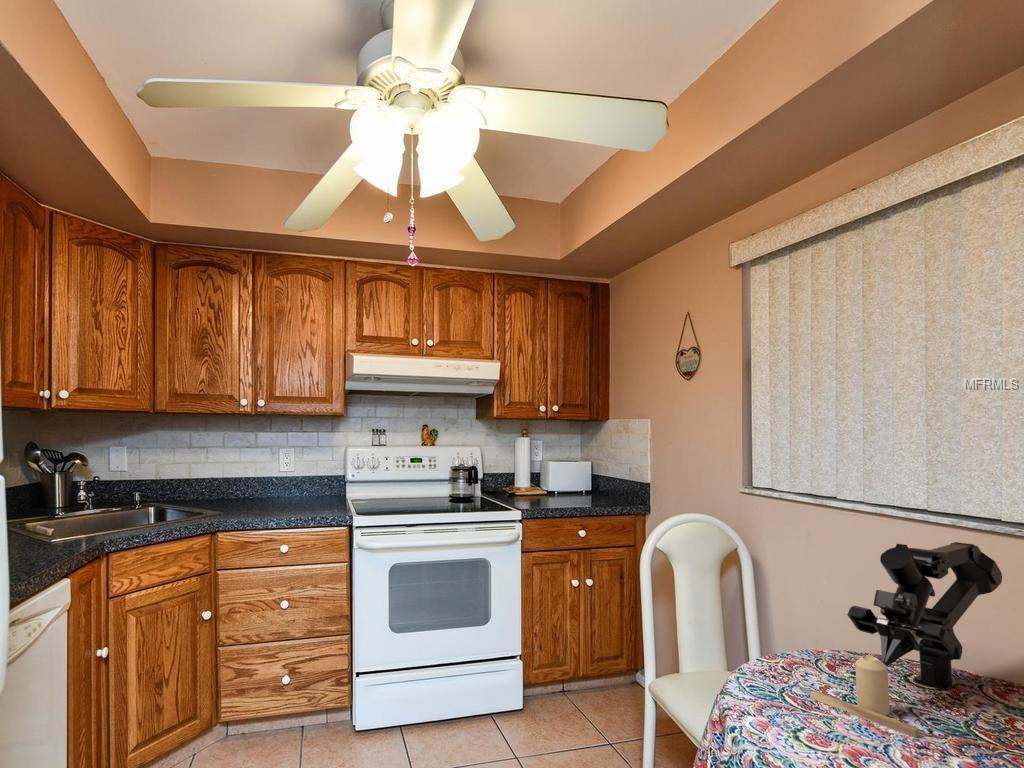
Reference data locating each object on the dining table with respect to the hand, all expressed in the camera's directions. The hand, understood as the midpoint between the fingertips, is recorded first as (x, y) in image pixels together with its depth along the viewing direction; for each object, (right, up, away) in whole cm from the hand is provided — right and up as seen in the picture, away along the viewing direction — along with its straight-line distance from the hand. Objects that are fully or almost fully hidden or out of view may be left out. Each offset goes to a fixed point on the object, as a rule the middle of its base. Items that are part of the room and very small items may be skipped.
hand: (884, 664), depth 125 cm
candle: (-4, -8, -3) cm, 9 cm away
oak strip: (-8, -7, -5) cm, 12 cm away
